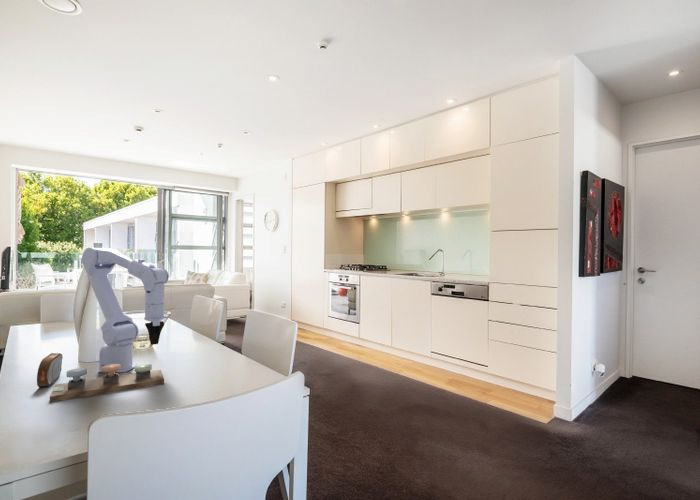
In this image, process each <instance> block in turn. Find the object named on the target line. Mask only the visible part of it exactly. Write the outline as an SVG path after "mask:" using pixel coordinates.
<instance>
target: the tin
mask: <svg viewBox="0 0 700 500" xmlns="http://www.w3.org/2000/svg"><path fill="white" fill-rule="evenodd" d="M62 363H63V354H62V353H59V352H56V353H53V352H51V353H50V354H48V355H47V356H45V357H43V358H42V360H41V361H40V363H39V365H38V369H37V373H36V374H37V375H36V385H37V387H38V388H41V387H50V386H51V385H53V383H55V381H57V380H58V379H59V377H60V375H61V372H62V366H63V365H62Z"/></svg>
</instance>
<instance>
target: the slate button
mask: <svg viewBox="0 0 700 500" xmlns="http://www.w3.org/2000/svg"><path fill="white" fill-rule="evenodd" d="M87 371H88V369H87V368H86V367H79V368H72V369H68V370H67V371H66V374H65V375H66V378H72V379H73V382H78V381H80V378H82V376H86V375H88V373H87Z"/></svg>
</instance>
